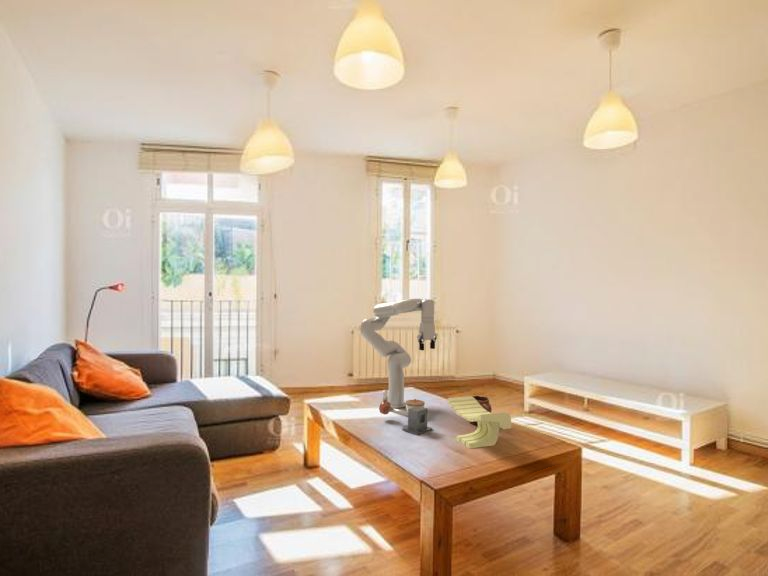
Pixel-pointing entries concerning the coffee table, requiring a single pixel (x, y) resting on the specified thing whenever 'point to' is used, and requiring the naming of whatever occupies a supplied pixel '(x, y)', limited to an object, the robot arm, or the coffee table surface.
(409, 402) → the lidded jar
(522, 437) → the coffee table surface
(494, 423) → the slatted curved stool
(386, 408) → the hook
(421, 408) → the grey square peg socket
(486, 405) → the decorative planter
